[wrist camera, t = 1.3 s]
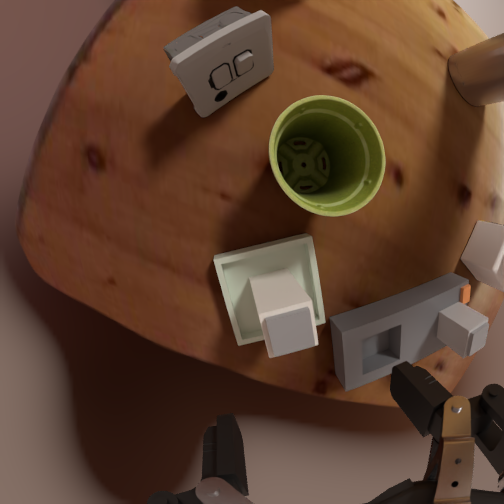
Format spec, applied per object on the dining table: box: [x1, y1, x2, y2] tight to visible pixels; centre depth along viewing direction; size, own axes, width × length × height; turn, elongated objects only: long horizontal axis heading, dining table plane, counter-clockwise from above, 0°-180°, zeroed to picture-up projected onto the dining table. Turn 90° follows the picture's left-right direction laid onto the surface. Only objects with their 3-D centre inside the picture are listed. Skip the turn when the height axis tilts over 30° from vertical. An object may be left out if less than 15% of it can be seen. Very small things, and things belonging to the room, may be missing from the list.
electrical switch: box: [164, 6, 274, 117], centre depth 20 cm, size 9×5×9 cm, turn 128°
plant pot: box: [269, 95, 385, 216], centre depth 23 cm, size 9×9×9 cm
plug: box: [249, 268, 319, 358], centre depth 24 cm, size 4×4×10 cm
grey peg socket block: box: [329, 272, 489, 391], centre depth 27 cm, size 20×9×11 cm, turn 103°
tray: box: [214, 233, 326, 346], centre depth 29 cm, size 10×10×2 cm
